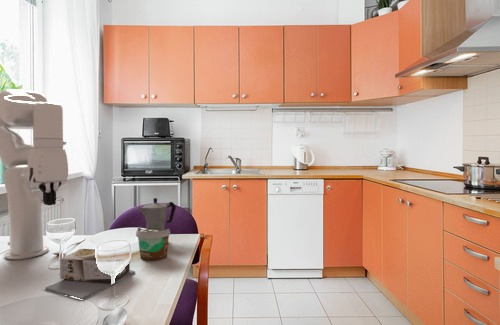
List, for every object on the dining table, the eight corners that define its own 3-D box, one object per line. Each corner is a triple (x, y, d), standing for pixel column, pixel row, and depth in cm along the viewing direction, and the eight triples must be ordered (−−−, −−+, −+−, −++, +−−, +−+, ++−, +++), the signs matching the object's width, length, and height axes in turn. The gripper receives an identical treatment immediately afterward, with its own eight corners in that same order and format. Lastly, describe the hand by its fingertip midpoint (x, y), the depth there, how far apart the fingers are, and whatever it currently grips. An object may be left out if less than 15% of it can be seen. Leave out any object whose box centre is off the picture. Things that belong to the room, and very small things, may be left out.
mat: (45, 289, 83) (45, 287, 83) (101, 265, 99) (101, 263, 99) (81, 300, 77) (81, 298, 77) (135, 273, 94) (134, 271, 94)
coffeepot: (144, 250, 113) (144, 202, 112) (134, 244, 120) (133, 198, 119) (181, 241, 124) (181, 197, 123) (170, 236, 131) (169, 194, 130)
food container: (128, 260, 104) (127, 231, 103) (139, 254, 110) (138, 226, 109) (161, 264, 101) (161, 233, 100) (170, 257, 107) (170, 228, 106)
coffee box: (59, 280, 87) (112, 284, 85) (59, 257, 87) (111, 261, 84) (82, 268, 96) (130, 271, 94) (81, 247, 96) (130, 250, 93)
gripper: (63, 143, 101) (64, 198, 103) (13, 144, 88) (15, 207, 89) (79, 144, 98) (80, 201, 100) (30, 145, 85) (31, 211, 86)
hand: (49, 204), depth 95 cm, fingers closed
